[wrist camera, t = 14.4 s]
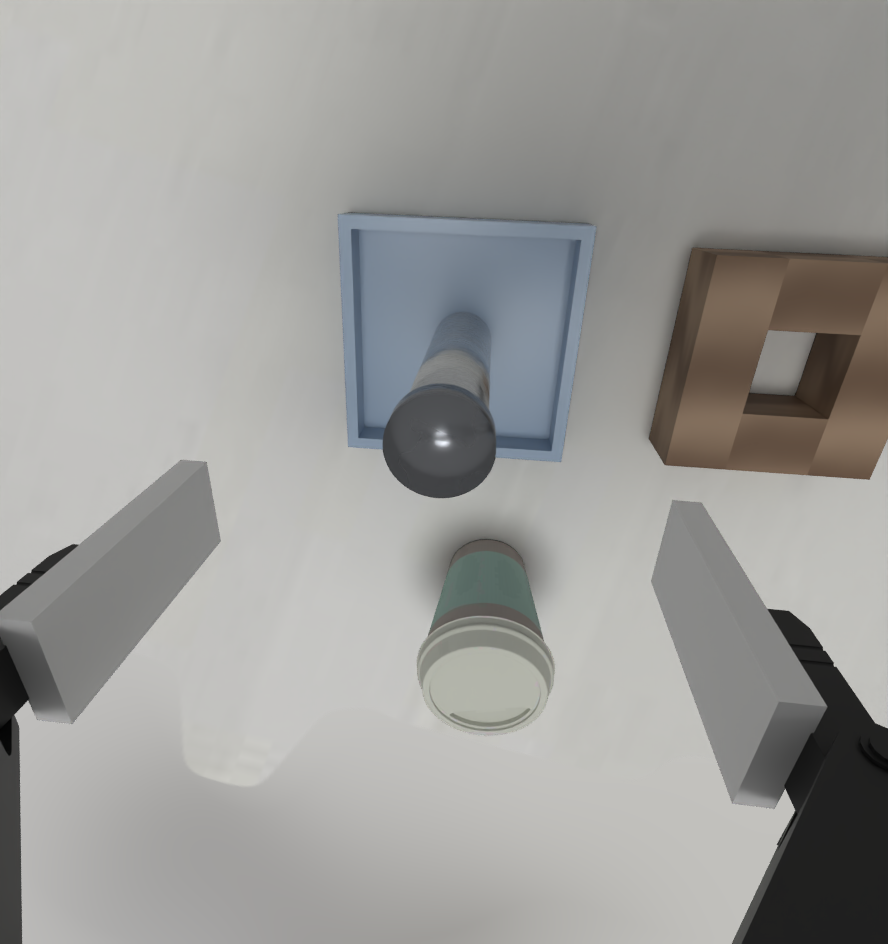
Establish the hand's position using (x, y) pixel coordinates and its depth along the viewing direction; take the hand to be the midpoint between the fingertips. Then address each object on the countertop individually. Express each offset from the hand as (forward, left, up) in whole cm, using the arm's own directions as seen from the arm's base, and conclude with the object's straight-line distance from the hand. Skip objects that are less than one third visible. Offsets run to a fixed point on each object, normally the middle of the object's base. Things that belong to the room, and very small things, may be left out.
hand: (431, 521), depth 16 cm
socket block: (0, +19, -22) cm, 29 cm away
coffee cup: (+18, +3, -22) cm, 29 cm away
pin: (0, 0, -21) cm, 21 cm away
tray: (0, 0, -22) cm, 22 cm away
